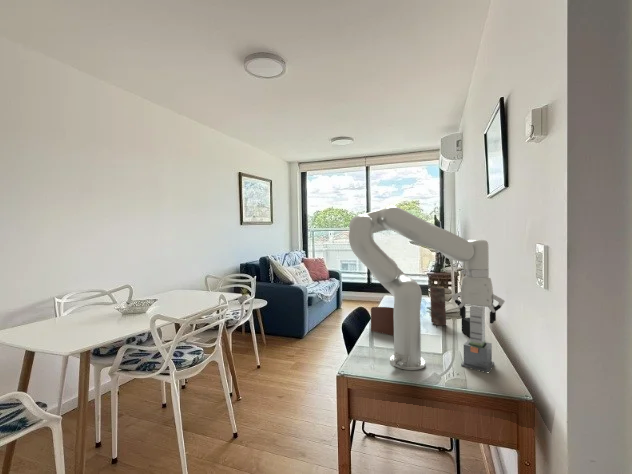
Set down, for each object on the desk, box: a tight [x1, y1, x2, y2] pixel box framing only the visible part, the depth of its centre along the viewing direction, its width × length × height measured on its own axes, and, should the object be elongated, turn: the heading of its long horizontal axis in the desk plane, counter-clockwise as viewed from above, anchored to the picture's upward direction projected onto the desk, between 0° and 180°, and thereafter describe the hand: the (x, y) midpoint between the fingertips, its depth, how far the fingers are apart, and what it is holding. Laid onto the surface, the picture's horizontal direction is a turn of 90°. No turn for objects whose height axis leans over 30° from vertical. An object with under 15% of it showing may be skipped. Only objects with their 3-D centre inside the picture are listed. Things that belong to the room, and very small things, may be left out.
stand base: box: [460, 338, 495, 373], centre depth 116 cm, size 9×9×8 cm
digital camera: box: [461, 317, 470, 338], centre depth 149 cm, size 10×5×7 cm, turn 0°
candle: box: [429, 286, 447, 327], centre depth 166 cm, size 8×7×20 cm
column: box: [469, 305, 487, 348], centre depth 116 cm, size 4×4×14 cm
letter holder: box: [370, 306, 394, 337], centre depth 152 cm, size 10×20×14 cm, turn 57°
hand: (477, 320), depth 116 cm, fingers open, 9 cm apart
